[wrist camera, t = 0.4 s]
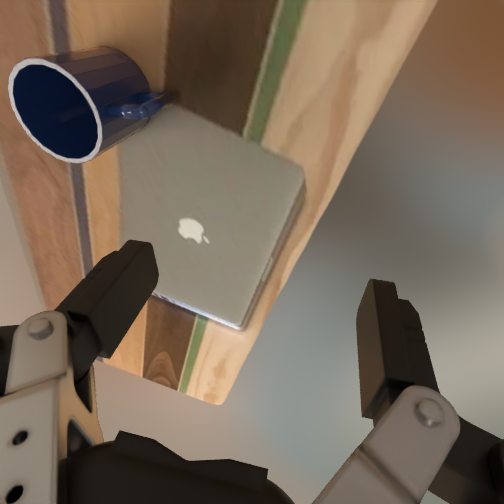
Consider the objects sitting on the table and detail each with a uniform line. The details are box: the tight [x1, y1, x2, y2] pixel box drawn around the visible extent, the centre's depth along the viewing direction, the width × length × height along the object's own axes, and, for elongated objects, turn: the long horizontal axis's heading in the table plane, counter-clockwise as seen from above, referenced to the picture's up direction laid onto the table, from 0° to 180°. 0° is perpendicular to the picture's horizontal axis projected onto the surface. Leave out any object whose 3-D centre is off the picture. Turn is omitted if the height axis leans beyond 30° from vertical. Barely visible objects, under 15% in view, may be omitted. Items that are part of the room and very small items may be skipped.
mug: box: [8, 47, 174, 163], centre depth 31 cm, size 13×9×10 cm
